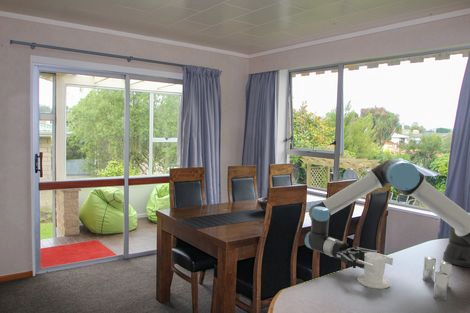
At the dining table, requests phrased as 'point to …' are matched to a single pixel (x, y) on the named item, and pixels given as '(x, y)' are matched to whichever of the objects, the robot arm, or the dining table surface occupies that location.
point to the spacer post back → (446, 270)
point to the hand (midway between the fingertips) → (382, 264)
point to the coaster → (378, 286)
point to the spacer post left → (429, 269)
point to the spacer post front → (440, 286)
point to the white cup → (375, 267)
